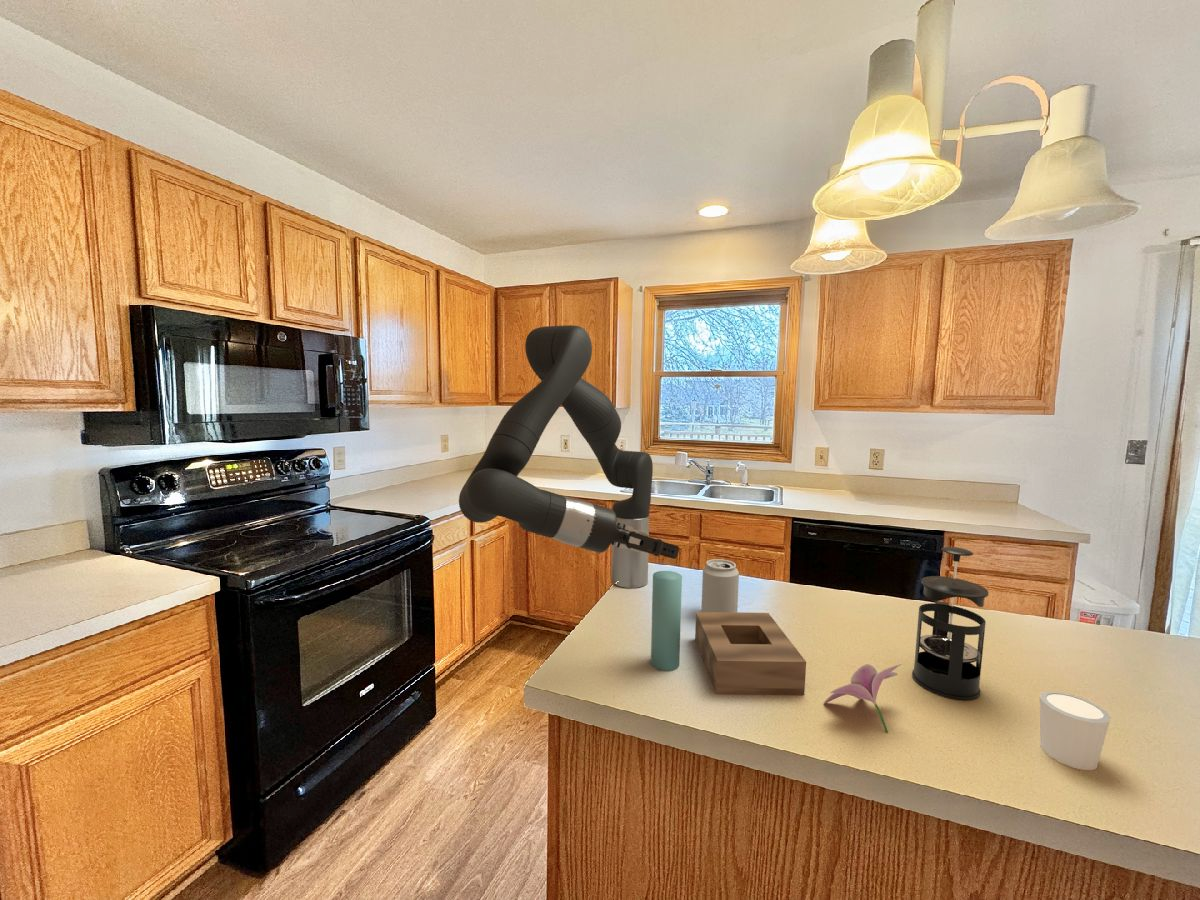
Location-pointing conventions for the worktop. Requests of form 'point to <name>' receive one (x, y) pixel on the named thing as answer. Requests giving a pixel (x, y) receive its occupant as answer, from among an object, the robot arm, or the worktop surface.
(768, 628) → the well block
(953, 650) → the french press
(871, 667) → the lily
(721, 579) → the can
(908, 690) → the worktop surface
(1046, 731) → the white cylinder
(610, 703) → the worktop surface
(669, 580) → the peg
